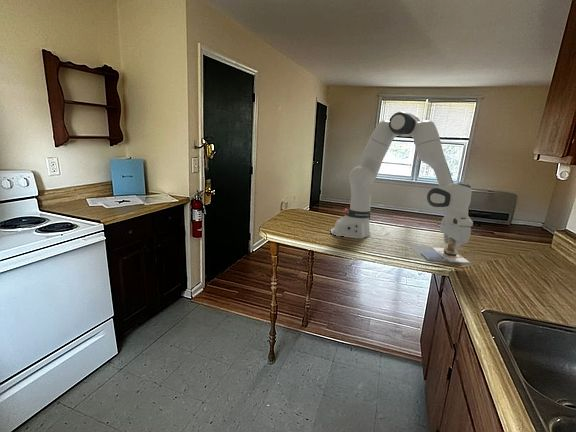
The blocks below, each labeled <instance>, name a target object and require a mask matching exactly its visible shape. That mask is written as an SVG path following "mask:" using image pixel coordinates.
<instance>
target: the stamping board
mask: <svg viewBox="0 0 576 432" xmlns="http://www.w3.org/2000/svg"><path fill="white" fill-rule="evenodd" d="M409 247H410V248H412V249H413V251H414V252H416V253H417V254H418V255H419V256H420V257H421V258H423V260H424V261H426V262H437V263H453V264H454V263H455V264H456V263H457V264H473V262H470V260H468V259H466V258H464V256H462V255H461V254H459V253H458V254H457V255H456V256H447V255H446V254H445V253H444V251H443V250H444V248H445V247H433V246H432V247H431V246H416V245H415V246H413V245H411V246H409Z"/></svg>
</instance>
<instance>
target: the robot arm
mask: <svg viewBox="0 0 576 432" xmlns="http://www.w3.org/2000/svg"><path fill="white" fill-rule="evenodd" d="M396 137H403V138H412V140H413V142H414V145H415V151H416V154H417V156H418V159H419V161H421V162H423V163H424V164H426V165H428V166H429V167H430V168H431V169H432V170H433V172H434V175H435V178H436V180H437V184H438V186H436V187H433V188H431V189H430V190H429V191H428V192H427V194H426V200H427V203H428V204H429V206H431V207H433V208H446V211H445V214H444V215H443V217H442V219H441V222H440V226H439V231H440V232H441V233H443V239H444V240H443V243H445V244H447V245H448V242H449V237H451V238H453V239H454V240H456V244H455V245H454V249H455V250H456V251H460V247H461V246H462V245H463V244H467V243H469V242H470V238H471V233H472V228H471V227H473V226H474V221H473V220H472V219H471V218H470V216H469V207H470V204H471V200H472V194H473V193H472V192H473V191H472V186H471V185H470V184H468V183H466V182H463V181H453V178H452V174H451V172H450V168H449V164H448V161H447V160H446V157H445V154H444V151H443V146H442V142H441V138H440V134H439V131H438V128H437V126H436V124H435V122H434V121H432V120H428V119H427V120H425V119H424V120H422V121H420V119H419V118H418V117H417V116H415V115H414V114H412V113H409V112H406V111H398V112H397V111H396V113H393V114H392V115H391V116H390V118H389V120H380V121H379V123H377V125H376V127H375V128H374V130H373V131H372V133H371V135H370V137H369V139H368V141H367V144H366V146H365V148H364V150H363V152H362V153H363V154H362V158H361V161H360V164H359V165H357V166H355V167H353V168H352V169H351V170H350V172H349V175H348V179H349V185H350V204H349V205H350V206H349V208H346V207H345V208H344V212H345V215H344V216H342V217H340V218H338V219H337V220H336V222H335V223H334V227H331V228H330V231H331V232H330V234H331V233H332V234H331V235H333V234H334V235H336V236H335V237H340V236H344V237H343V238H351V239H360V240H361V239H365V238H368V237H370V236H371V230H370V220H371V214H372V212H371V211H372V210H371V206H372V205H371V204H372V192H371V184H373V183H374V182H375V180H376V179H377V177H378V173H379V171H380V168H381V166H382V162H383V160H384V158H385V156H386V155H387V152H388V150H389V149H390V146H391V145H392V142H393V141H394V139H395V138H396ZM334 235H333V236H334Z"/></svg>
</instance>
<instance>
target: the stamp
mask: <svg viewBox="0 0 576 432" xmlns="http://www.w3.org/2000/svg"><path fill="white" fill-rule="evenodd" d="M454 245H456V240H454V239H453V238H451V237H449V242H448V244H447V247H443V248H444V250H443V251H444V253H445V254H446V255H447V256H456V255H457V254H459V251H458V250H455V249H454Z"/></svg>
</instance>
